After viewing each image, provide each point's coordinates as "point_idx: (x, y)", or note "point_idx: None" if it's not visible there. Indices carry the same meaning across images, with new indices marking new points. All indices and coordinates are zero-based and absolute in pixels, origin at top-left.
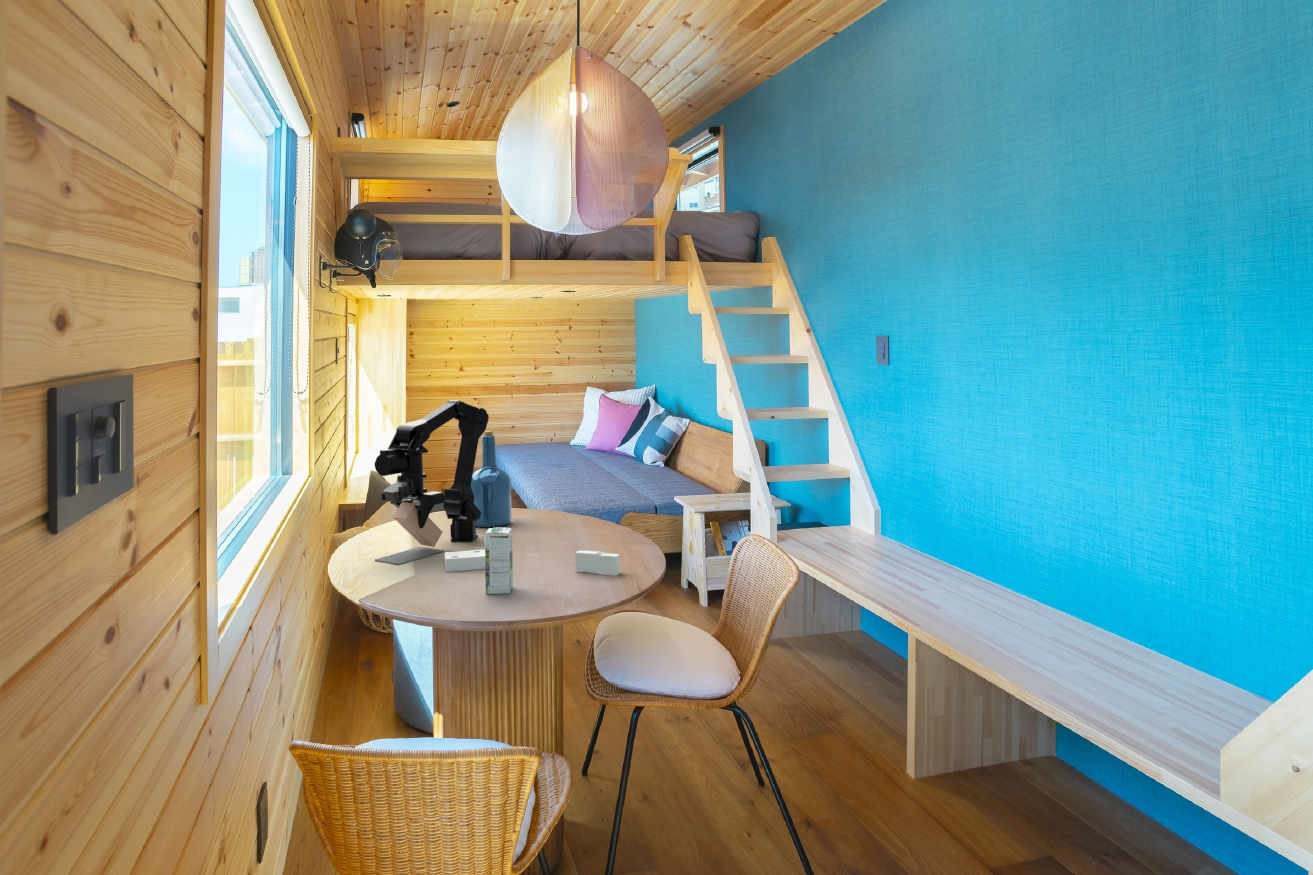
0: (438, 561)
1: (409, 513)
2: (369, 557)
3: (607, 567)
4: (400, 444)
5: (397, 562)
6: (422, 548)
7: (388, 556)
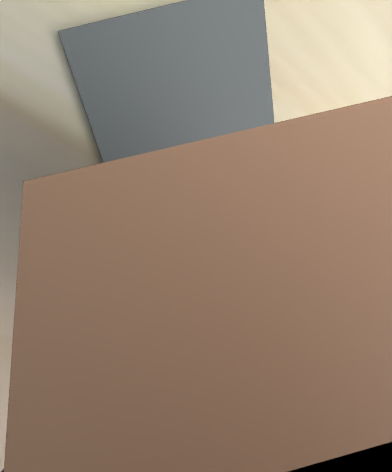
0: (6, 225)
1: (14, 331)
2: (349, 16)
3: None
4: None
5: (99, 48)
6: None
7: (257, 93)
